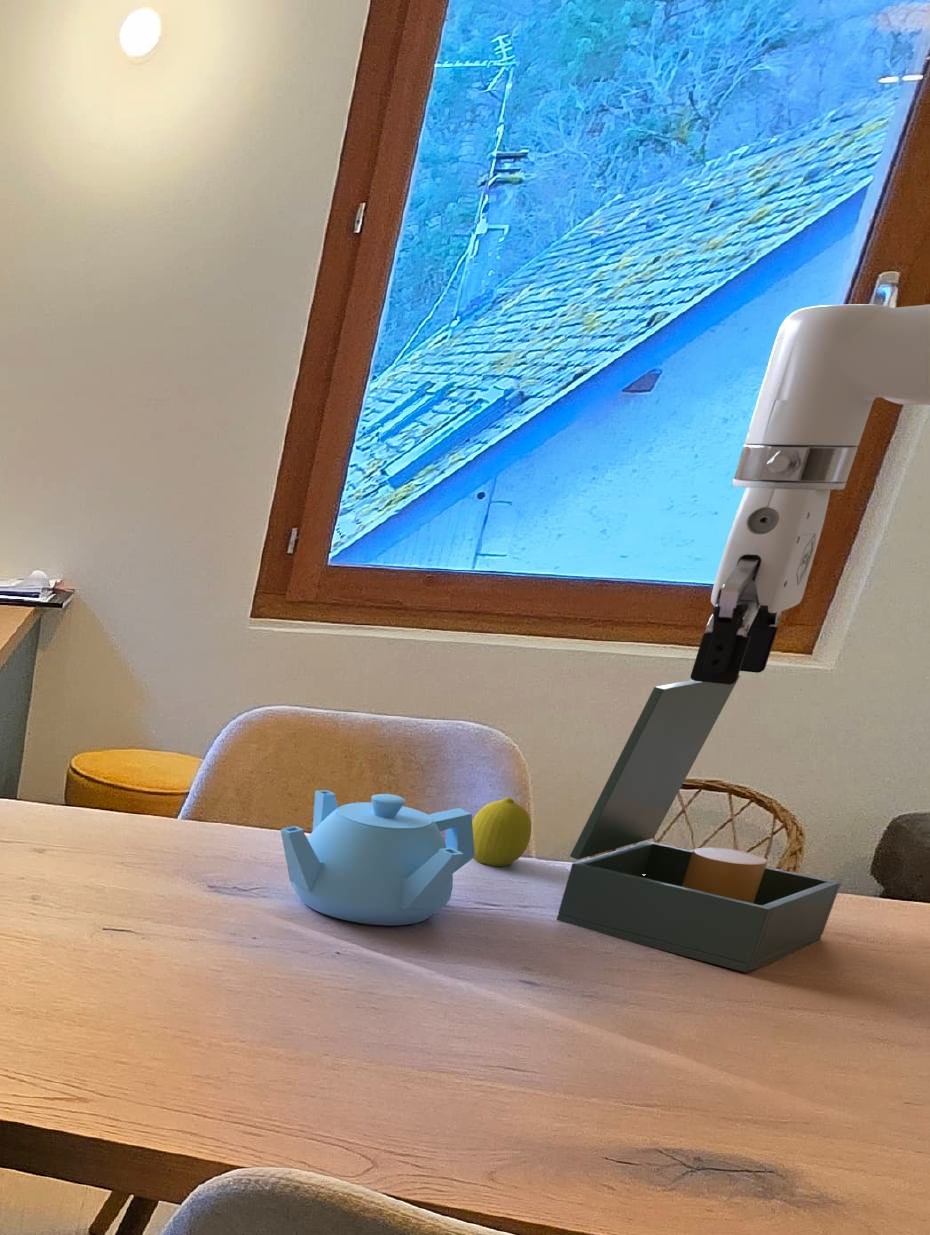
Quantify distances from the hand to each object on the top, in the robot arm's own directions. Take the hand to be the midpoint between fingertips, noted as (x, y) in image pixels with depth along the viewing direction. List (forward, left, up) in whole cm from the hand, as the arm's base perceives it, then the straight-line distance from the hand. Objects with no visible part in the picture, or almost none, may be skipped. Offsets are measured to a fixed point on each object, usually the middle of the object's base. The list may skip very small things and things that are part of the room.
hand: (727, 676), depth 125 cm
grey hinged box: (-3, 0, -23) cm, 23 cm away
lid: (+3, 0, -9) cm, 9 cm away
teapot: (+17, +19, -23) cm, 35 cm away
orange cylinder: (-5, 0, -22) cm, 23 cm away
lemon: (+17, -4, -23) cm, 29 cm away
